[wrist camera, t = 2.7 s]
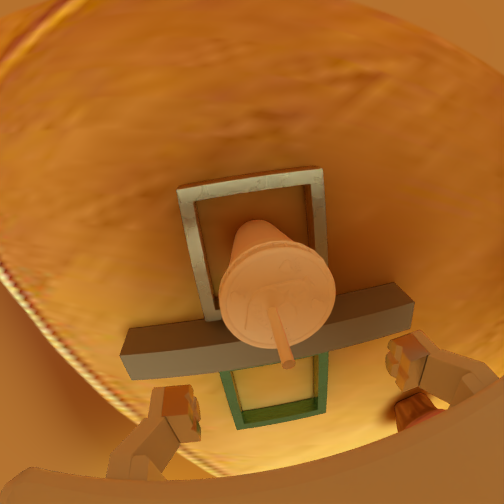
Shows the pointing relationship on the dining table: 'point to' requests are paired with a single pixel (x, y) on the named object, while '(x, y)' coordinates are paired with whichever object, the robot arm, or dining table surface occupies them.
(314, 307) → the smoothie
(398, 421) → the cupcake
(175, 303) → the dining table surface
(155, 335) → the door edge
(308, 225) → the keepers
